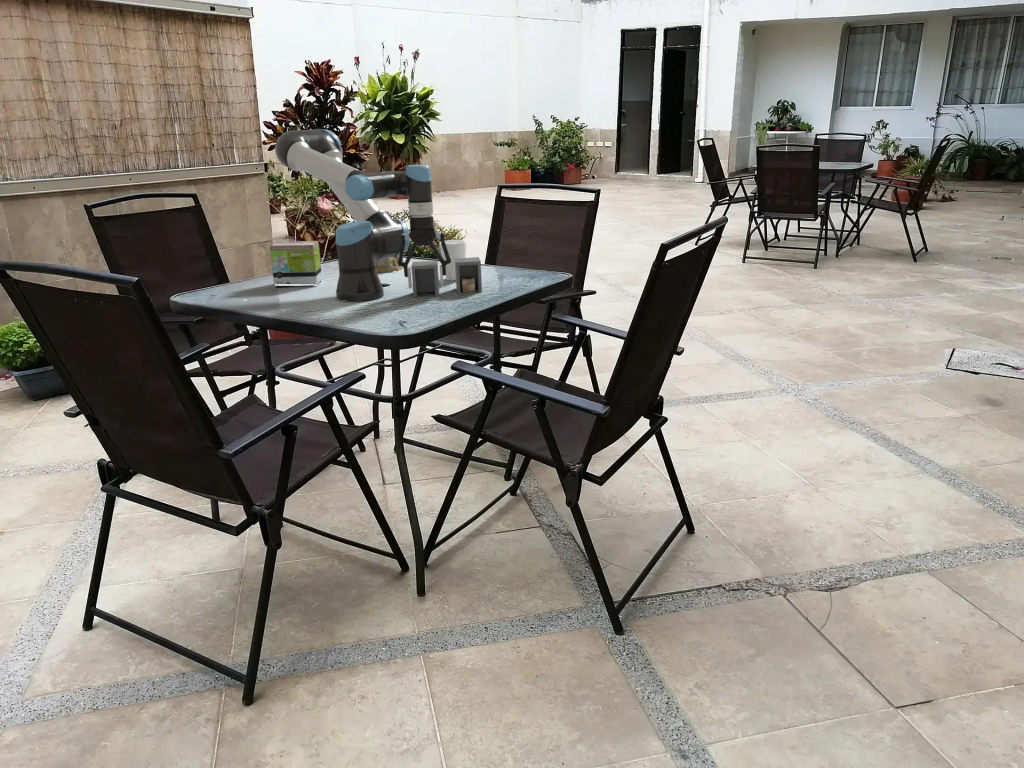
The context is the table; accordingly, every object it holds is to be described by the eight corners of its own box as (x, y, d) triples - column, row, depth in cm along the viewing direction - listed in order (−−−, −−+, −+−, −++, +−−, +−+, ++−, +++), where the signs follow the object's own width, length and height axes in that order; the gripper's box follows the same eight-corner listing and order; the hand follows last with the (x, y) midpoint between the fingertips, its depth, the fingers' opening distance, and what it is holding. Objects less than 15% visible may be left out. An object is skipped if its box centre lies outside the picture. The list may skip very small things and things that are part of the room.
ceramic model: (393, 273, 290) (391, 246, 287) (366, 273, 293) (363, 246, 290) (409, 266, 302) (407, 240, 299) (383, 266, 306) (381, 240, 302)
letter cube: (462, 291, 255) (462, 279, 253) (462, 289, 259) (462, 276, 257) (475, 291, 255) (474, 278, 254) (474, 288, 259) (474, 276, 257)
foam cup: (470, 276, 279) (468, 239, 275) (466, 281, 271) (464, 243, 266) (444, 276, 280) (441, 240, 276) (439, 281, 272) (436, 244, 267)
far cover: (457, 293, 252) (455, 262, 249) (456, 288, 260) (454, 258, 257) (482, 291, 253) (480, 261, 250) (480, 287, 261) (478, 257, 257)
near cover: (413, 297, 249) (411, 266, 245) (415, 292, 256) (412, 261, 253) (438, 296, 249) (436, 265, 246) (439, 291, 257) (437, 260, 253)
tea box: (274, 288, 270) (268, 245, 266) (281, 282, 280) (275, 241, 275) (317, 286, 271) (312, 243, 266) (323, 281, 280) (318, 239, 275)
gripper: (384, 218, 240) (390, 290, 248) (456, 215, 242) (460, 287, 249) (386, 215, 248) (392, 285, 255) (456, 213, 249) (460, 282, 256)
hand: (426, 286), depth 252 cm, fingers open, 9 cm apart
